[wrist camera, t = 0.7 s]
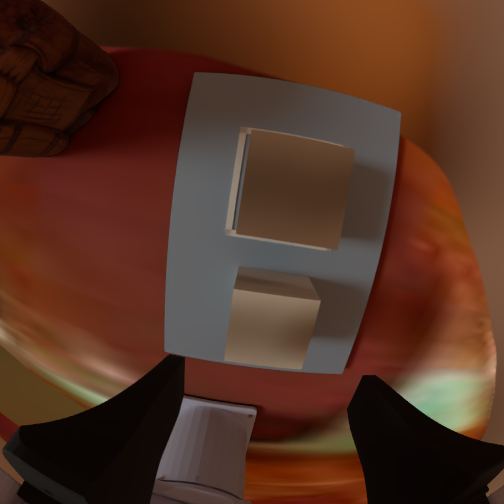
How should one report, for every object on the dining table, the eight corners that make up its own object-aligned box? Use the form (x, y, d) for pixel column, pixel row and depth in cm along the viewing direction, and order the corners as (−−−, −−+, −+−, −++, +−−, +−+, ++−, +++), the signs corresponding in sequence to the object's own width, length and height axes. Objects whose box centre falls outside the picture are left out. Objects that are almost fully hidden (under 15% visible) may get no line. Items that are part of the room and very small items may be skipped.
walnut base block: (320, 235, 17) (337, 250, 13) (241, 222, 17) (235, 233, 13) (333, 157, 16) (354, 149, 12) (253, 142, 16) (251, 129, 12)
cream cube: (293, 335, 19) (301, 369, 15) (230, 327, 19) (223, 360, 15) (307, 276, 18) (320, 300, 14) (239, 266, 17) (233, 288, 14)
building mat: (339, 368, 20) (342, 374, 19) (167, 346, 20) (164, 352, 19) (396, 114, 15) (401, 112, 15) (197, 76, 15) (194, 71, 14)
